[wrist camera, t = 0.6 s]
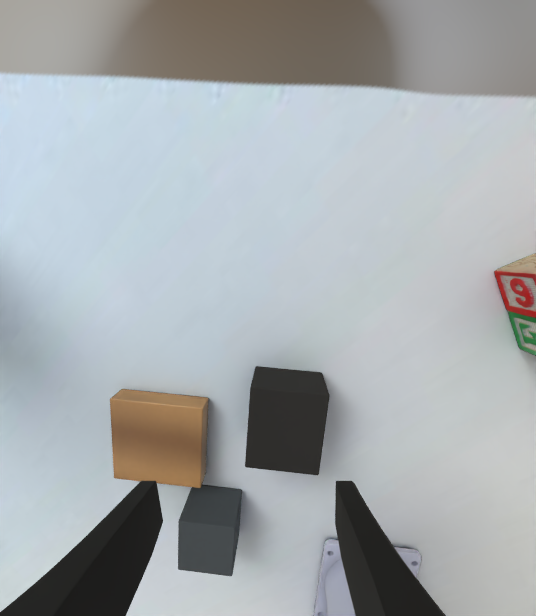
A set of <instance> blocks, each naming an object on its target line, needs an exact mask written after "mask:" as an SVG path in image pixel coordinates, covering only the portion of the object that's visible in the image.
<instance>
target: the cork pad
mask: <svg viewBox="0 0 536 616" xmlns="http://www.w3.org/2000/svg"><path fill="white" fill-rule="evenodd" d="M110 409H111V428H112V447H113V466H114V478H117V479H126V480H134V481H156V483H160V484H169V485H178V486H186V487H195V488H201V485H202V483H203V480H204V477H205V474H206V456H207V426H208V398H206V397H196V396H186V395H176V394H166V393H157V392H147V391H137V390H127V389H121V390H120V391H119V392H118V393H117V394H115V395H114V396H113V397H112V398H111V399H110Z"/></svg>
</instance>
